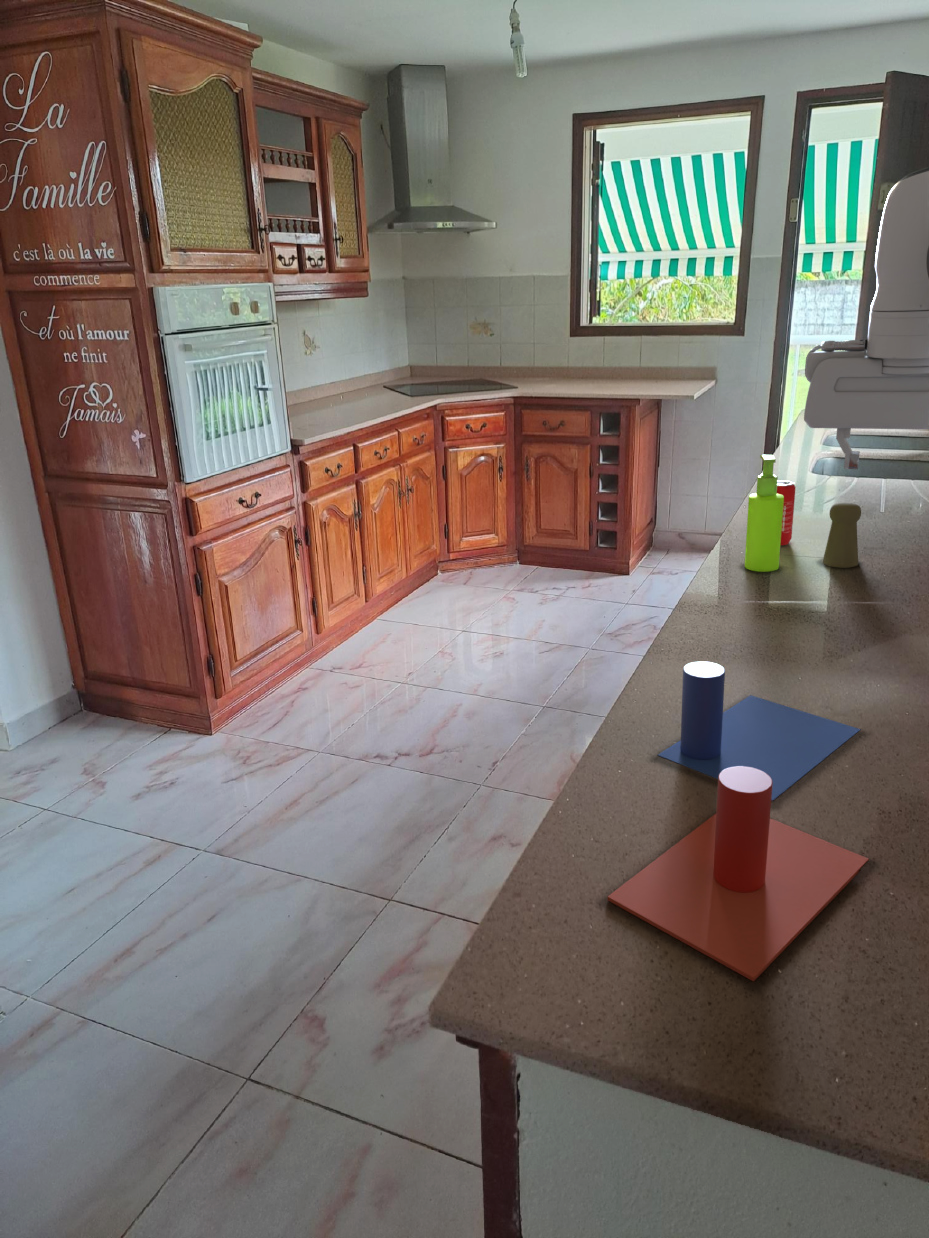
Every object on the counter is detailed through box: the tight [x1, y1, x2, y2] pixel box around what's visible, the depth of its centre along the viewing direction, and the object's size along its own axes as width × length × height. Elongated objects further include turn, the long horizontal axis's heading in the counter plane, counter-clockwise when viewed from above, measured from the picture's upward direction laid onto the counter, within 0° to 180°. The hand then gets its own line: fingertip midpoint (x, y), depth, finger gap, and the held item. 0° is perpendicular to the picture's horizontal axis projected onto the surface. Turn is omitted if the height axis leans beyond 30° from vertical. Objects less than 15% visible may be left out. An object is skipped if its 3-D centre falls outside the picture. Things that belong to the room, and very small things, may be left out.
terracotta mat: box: [606, 813, 870, 982], centre depth 78 cm, size 14×20×1 cm
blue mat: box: [657, 694, 861, 802], centre depth 100 cm, size 14×20×1 cm
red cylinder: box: [713, 766, 773, 893], centre depth 76 cm, size 4×4×10 cm
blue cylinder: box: [680, 660, 726, 760], centre depth 97 cm, size 4×4×10 cm
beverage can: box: [777, 479, 796, 547], centre depth 171 cm, size 5×5×12 cm
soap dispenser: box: [744, 454, 784, 573], centre depth 156 cm, size 6×7×20 cm
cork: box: [822, 501, 862, 569], centre depth 157 cm, size 6×6×11 cm
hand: (897, 469), depth 97 cm, fingers open, 8 cm apart
